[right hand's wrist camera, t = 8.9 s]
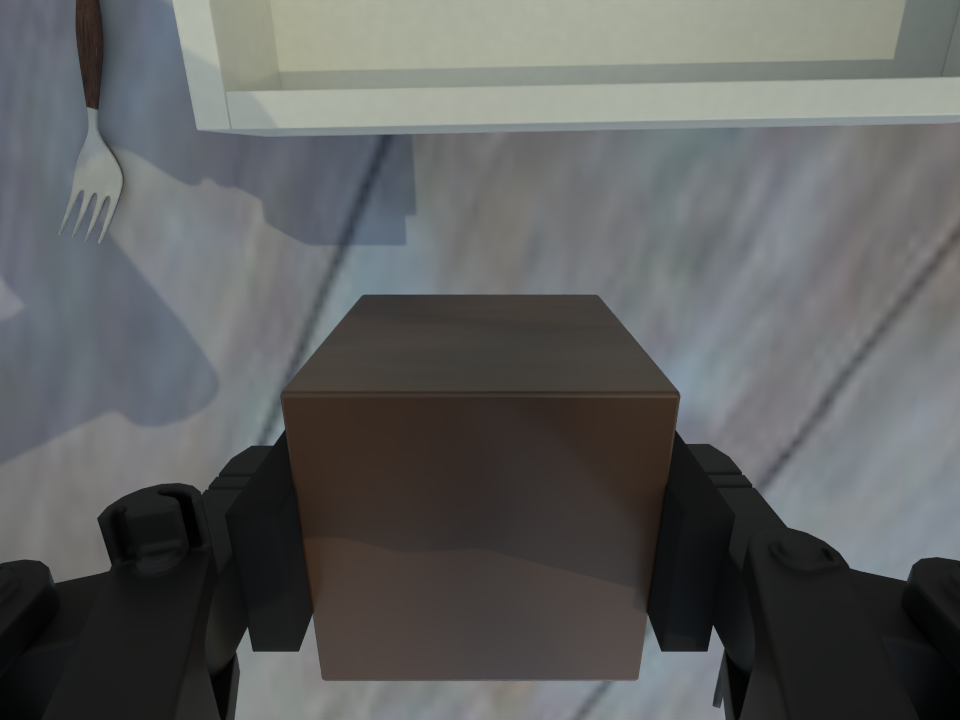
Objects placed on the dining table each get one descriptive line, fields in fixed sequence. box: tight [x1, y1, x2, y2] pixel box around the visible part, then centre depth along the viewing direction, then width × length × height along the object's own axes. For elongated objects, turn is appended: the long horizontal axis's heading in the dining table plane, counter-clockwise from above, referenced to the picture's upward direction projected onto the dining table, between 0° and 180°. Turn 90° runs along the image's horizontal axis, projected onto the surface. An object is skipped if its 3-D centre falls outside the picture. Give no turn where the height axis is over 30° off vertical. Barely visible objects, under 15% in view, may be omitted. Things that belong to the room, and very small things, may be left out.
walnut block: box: [280, 295, 680, 681], centre depth 12 cm, size 6×6×6 cm
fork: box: [58, 0, 123, 244], centre depth 28 cm, size 3×16×2 cm, turn 168°
